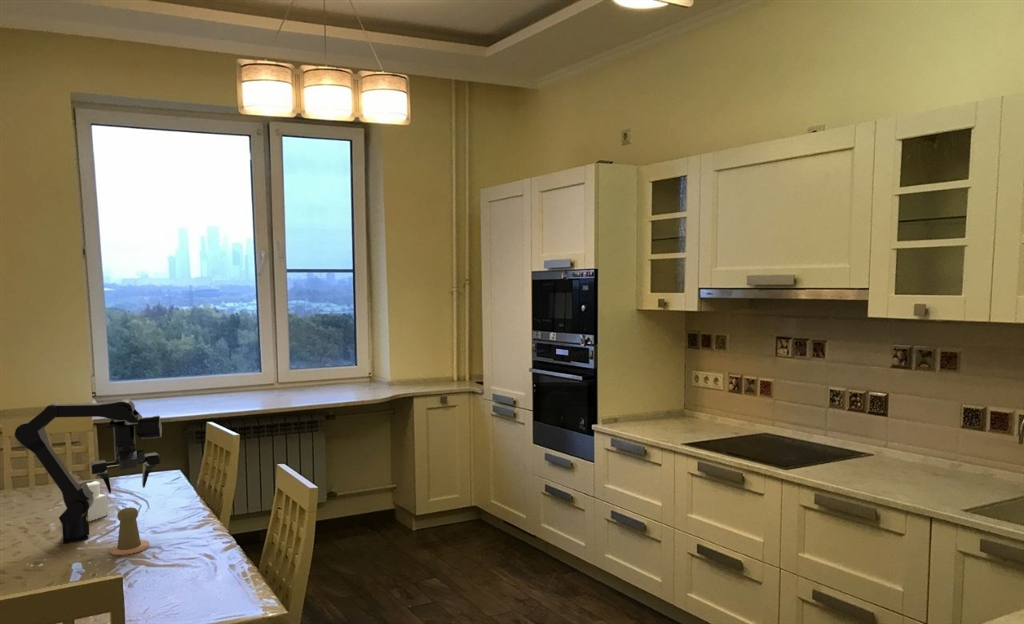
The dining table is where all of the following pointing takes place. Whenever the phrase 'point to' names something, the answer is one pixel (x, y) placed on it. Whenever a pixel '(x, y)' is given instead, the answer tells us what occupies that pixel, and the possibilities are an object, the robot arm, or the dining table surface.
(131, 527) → the cork
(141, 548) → the peach round disc
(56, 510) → the dining table surface
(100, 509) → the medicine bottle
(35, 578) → the dining table surface
